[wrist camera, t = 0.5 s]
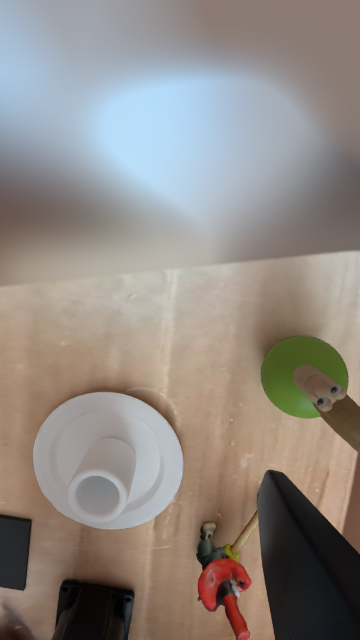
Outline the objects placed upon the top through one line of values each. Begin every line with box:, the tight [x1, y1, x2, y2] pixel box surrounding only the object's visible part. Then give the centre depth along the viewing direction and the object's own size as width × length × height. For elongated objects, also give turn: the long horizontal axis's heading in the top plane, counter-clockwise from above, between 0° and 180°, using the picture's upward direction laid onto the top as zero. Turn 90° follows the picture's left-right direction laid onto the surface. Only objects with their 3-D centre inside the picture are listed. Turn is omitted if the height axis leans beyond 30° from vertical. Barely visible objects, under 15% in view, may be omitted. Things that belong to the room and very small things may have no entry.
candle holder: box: [33, 392, 183, 530], centre depth 23 cm, size 12×12×4 cm
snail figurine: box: [261, 336, 360, 452], centre depth 17 cm, size 5×6×12 cm
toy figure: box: [196, 510, 259, 640], centre depth 24 cm, size 10×4×7 cm
